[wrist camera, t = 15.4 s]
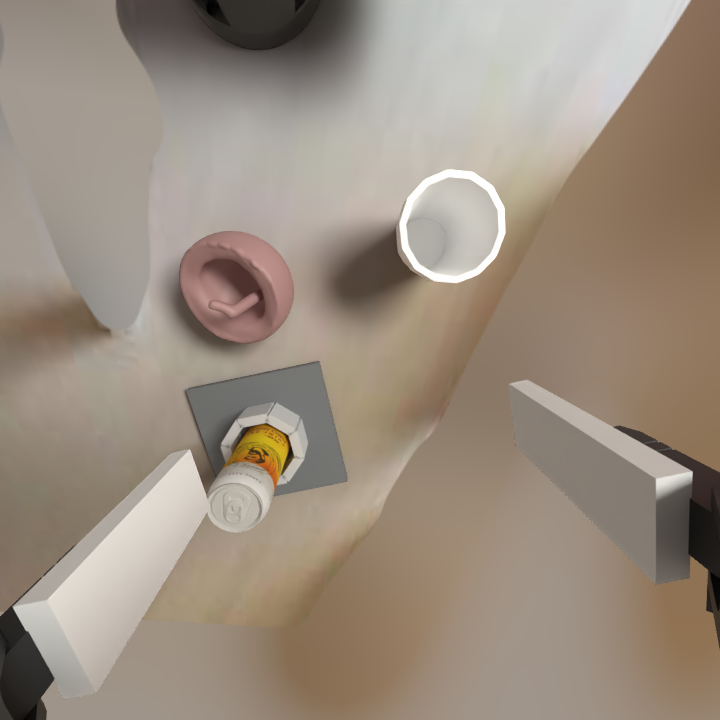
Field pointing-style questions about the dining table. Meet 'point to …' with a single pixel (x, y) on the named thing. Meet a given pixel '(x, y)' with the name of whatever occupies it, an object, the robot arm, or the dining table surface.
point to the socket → (274, 422)
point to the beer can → (248, 479)
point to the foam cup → (450, 227)
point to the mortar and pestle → (236, 286)
